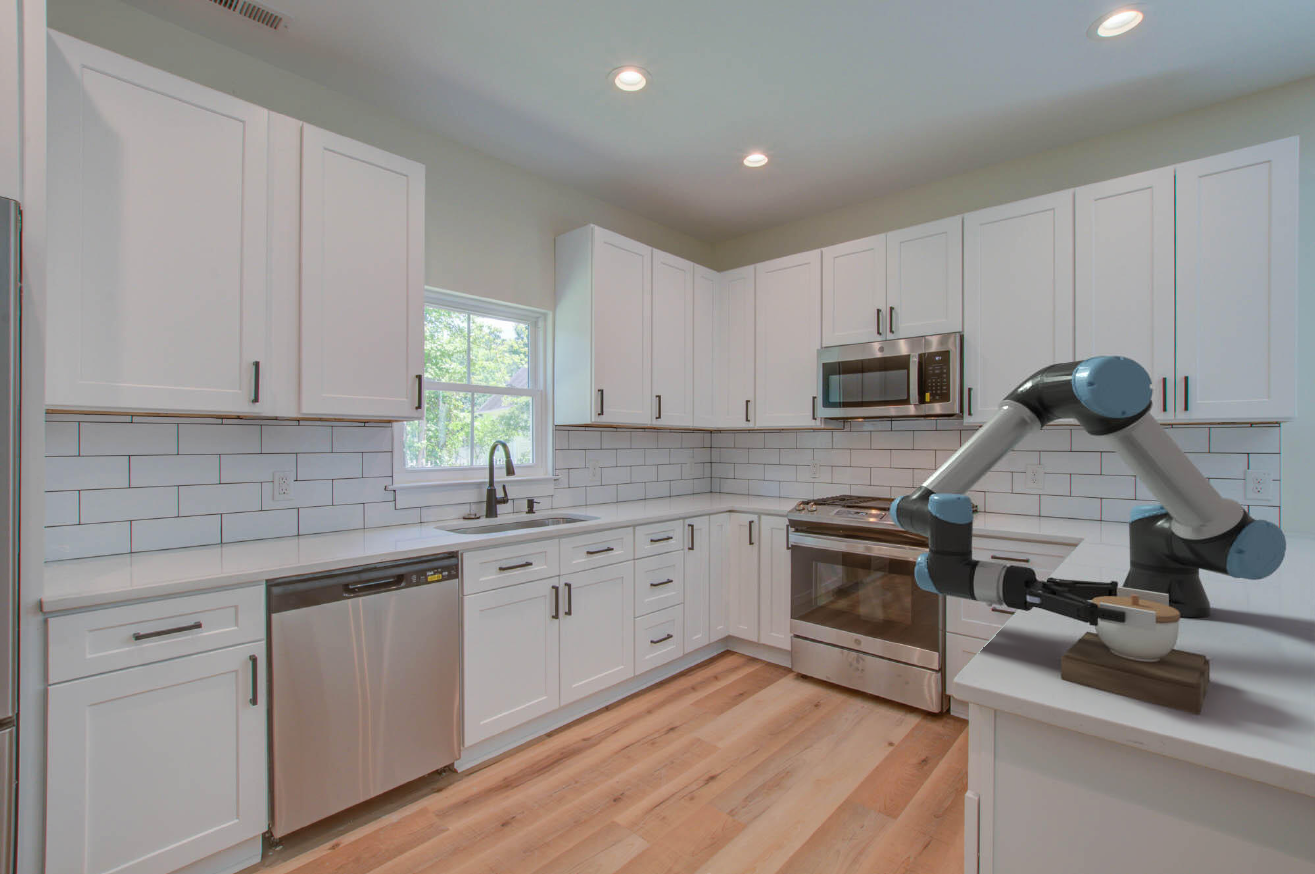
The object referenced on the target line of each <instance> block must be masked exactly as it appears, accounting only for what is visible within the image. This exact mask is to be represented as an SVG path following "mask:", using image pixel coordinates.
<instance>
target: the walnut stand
mask: <svg viewBox="0 0 1315 874" xmlns="http://www.w3.org/2000/svg"><path fill="white" fill-rule="evenodd" d="M1206 657H1207V656H1206V654H1205V655H1204V654H1201V653H1194V652H1191V651H1185V650H1181V649H1175V648H1173V649H1172V650H1171V651H1170V652H1169V653H1168V654H1166V655H1165V656H1163V657H1161V658H1160V660H1159V661H1156V662H1143V661H1136V660H1131V659H1127V658H1123V657H1120V656H1118V655H1115V654H1113V653H1112V652H1111V651H1110V648H1108V647H1107V646H1106V645H1105V644H1104V643H1103V642H1102V640H1101V639H1100V638H1099V636H1098V634H1097V632H1096V633H1095V632H1092V631H1086V632H1085V633H1084V634H1083V635H1082V636H1081V637H1080V638H1079V639H1078V640H1077V641H1076V642H1075V643H1074V644H1073V645H1072V646H1071V647H1070V648H1069V649H1068V650H1067V651H1066V652H1065V653H1064V654H1063V655H1062V656H1060V665H1061V666H1060V679H1061V680H1063V681H1068V682H1071V683H1074V684H1079V685H1083V686H1086V687H1090V688H1094V689H1097V690H1102V691H1106V692H1109V693H1113V694H1118V695H1122V696H1125V697H1129V698H1133V699H1137V700H1141V701H1143V702H1148V703H1152V704H1156V705H1159V706H1164V707H1167V708H1172V709H1175V710H1180V711H1183V712H1186V713H1190V714H1195V715H1200V713H1201V711H1202V707H1203V704H1204V701H1205V699H1206V698H1205V697H1206V695H1207V691H1208V688H1209V685H1210V684H1209V683H1210V680H1211V679H1210V678H1211V676H1210V671H1211V670H1210V669H1211V668H1210V658H1209V659H1208V658H1206ZM1208 684H1209V685H1208Z"/></svg>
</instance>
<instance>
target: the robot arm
mask: <svg viewBox="0 0 1315 874" xmlns="http://www.w3.org/2000/svg"><path fill="white" fill-rule="evenodd" d="M1151 385H1153V381H1152V379H1151V377H1150V374H1149V372H1147V370H1146V369H1145V368H1144V366H1143V365H1141V364H1140V363H1139V362H1137V361H1136V360H1133V359H1131V358H1129V357H1126V356H1121V355H1109V356H1108V355H1100V356H1098V355H1097V356H1094V357H1089V358H1086V359H1080V360H1077V361H1069V362H1061V363H1054V364H1050V365H1048V366H1046V367H1043V368H1041V369H1039V370H1038V371H1036V372H1034V373H1033V374H1031V375H1029V376H1028V377H1027V378H1026V379H1025V380H1023V381H1022V382H1021V383H1019V384H1018V385H1017V386H1016V387H1015V388H1014V389H1013V390H1011V392H1009V393H1008V395H1007V396H1006V397H1004V398H1003V399H1001V401H1000V402H999V403H998V406H997V408H998V411H997V412H995V413H994V414H993V416H991V418H989V420H987V421H986V422H985V423H984V424H983V425H982V426H981V427H980V428H979V429H978V430H977V431H976V432H974V434H973V435H972V436H971V437H970V438H969V439H968V440H966V441H965V442H964V443H963V444H962V445H961V446H960V447H959V448H958V449H956V451H955V452H953V454H951V456H950V457H949V458H947V460H946V461H944V463H942V465H940V466H939V467H938V468H937V469H936V470H935V471H934V472H933V473H932V474H931V475H930V476H929V477H928V478H927V479H926V480H924V481H923V483H921V484H920V485H919V486H918V487H917V489H915V490H914V491H913V492H912V493H911V494H908V495H907V494H906V495H900V496H898V497H896V498H895V499H894V500H893V501H892V503H891V505H890V508H889V517H890V519H891V521H892V522H893V524H894V525H896V526H897V527H899V528H900V529H901V530H904V531H906V532H908V533H913V534H918V535H921V536H923V537H926V538H928V552H922V553H920V554H919V555H918V557H917V558H916V562H915V567H914V578H915V582H916V584H917V585H918V587H919V588H920V589H921V590H924V591H927V592H929V593H935V594H938V595H940V596H949V597H954V598H959V599H964V600H970V601H975V602H981V603H985V604H986V606H987V607H993V605H996V606H1000V607H1001V606H1004V605H1005V606H1006V607H1007V608H1009V609H1016V610H1020V611H1026V612H1028V611H1031V610H1032V609H1033V608H1037V609H1041V610H1044V611H1046V612H1051V613H1054V614H1058V615H1059V616H1060V615H1061V616H1064V617H1066V618H1069V619H1073V620H1077V621H1078V622H1079V621H1080V622H1082V623H1086V624H1089V626H1093V627H1095V626H1098V618H1099V621H1102V622H1108V623H1113V624H1118V625H1123V626H1129V627H1134V628H1139V629H1144V630H1150V631H1156V612H1154V611H1148V610H1142V609H1136V608H1130V607H1125V606H1119V605H1113V604H1107V603H1101V602H1100V603H1099V607H1098V604H1095V603H1093V602H1092V600H1093V599H1094V598H1096V597H1104V596H1116V597H1128V598H1130V594H1134V595H1138V596H1139V599H1142V600H1147V601H1152V602H1157V603H1160V604H1164V605H1167V606H1170V607H1172V608H1174V609H1176V610H1178V611H1179V612H1180V617H1184V618H1202V617H1208V616H1209V615H1211V603H1210V600H1209V598H1208V595H1207V593H1206V590H1205V587H1204V586H1203V583H1202V581H1201V578H1200V570H1204V571H1209V572H1211V573H1215V574H1220V575H1225V576H1228V577H1232V578H1234V579H1240V578H1241V579H1245V580H1251V581H1252V580H1254V581H1255V580H1256V581H1257V580H1262V579H1265V578H1267V577H1270V576H1272V574H1274V573H1275V572H1276V571H1277V570H1278V569H1279V567H1280V566H1281V564H1282V563H1283V561H1284V559H1285V555H1286V550H1287V540H1286V536H1285V534H1284V532H1283V530H1282V529H1281V527H1280V526H1278V525H1277V524H1275V523H1273V522H1271V521H1267V520H1266V519H1255V518H1253V517H1252V516H1251V515H1250V514H1249V513H1248V512H1247V510H1246V509H1245V508H1244V507H1243V506H1242V505H1241V504H1240V502H1238V501H1236V500H1234V499H1232V498H1227V497H1222V496H1221V494H1220V493H1219V492H1218V491H1217V489H1216V488H1214V486H1213V485H1212V484H1211V483H1210V481H1209V480H1208V479H1207V478H1206V476H1205V475H1203V474H1202V472H1201V471H1200V470H1199V469H1198V468H1197V466H1196V465H1195V464H1194V463H1193V462H1192V460H1191V459H1190V458H1189V457H1188V456H1187V455H1186V453H1185V452H1184V451H1183V450H1182V449H1181V448H1180V447H1179V445H1178V444H1177V443H1176V441H1174V440H1173V438H1172V437H1171V435H1169V433H1167V431H1166V430H1165V429H1164V428H1163V427H1162V425H1161V424H1160V423H1159V422H1158V420H1156V418H1155V417H1154V416H1153V415H1152V414H1151V410H1152V408H1153V406H1154V402H1153V400H1152V397H1153V391H1154V389H1153V388H1151ZM1061 419H1062V420H1069V419H1070V420H1071V419H1072V420H1073V419H1074V420H1076V421H1077V422H1078V424H1079V425H1080V426H1081V427H1082V428H1083V429H1084V430H1085V431H1086V432H1087V434H1088V435H1090V436H1091V437H1094V438H1095V437H1096V438H1103V439H1104V440H1105V441H1106V442H1107V444H1108V445H1109V446H1110V448H1112V449H1113V450H1114V452H1115V453H1116V454H1117V456H1118V457H1119V458H1120V459H1121V460H1122V461H1123V462H1124V464H1126V465H1127V467H1128V468H1129V470H1131V472H1133V474H1134V475H1135V476H1136V477H1137V478H1138V480H1139V481H1140V482H1141V483H1142V484H1143V485H1144V486H1145V488H1146V489H1147V490H1148V491H1149V492H1150V494H1151V495H1152V496H1153V497H1154V499H1156V501H1158V503H1159V504H1137V505H1135V506H1133V507H1132V508H1131V510H1130V513H1129V514H1130V515H1129V517H1130V518H1129V521H1128V526H1129V527H1128V529H1129V530H1128V531H1129V533H1128V534H1129V535H1128V537H1129V570H1128V572H1127V575H1126V576H1125V580H1124V582H1123V583H1122V586H1119V582H1118V581H1117V580H1111V582H1110V581H1109V582H1106V581H1105V582H1103V581H1091V580H1090V581H1089V580H1077V579H1074V580H1073V579H1063V578H1055V577H1047V579H1046V581H1045V580H1044V581H1043V580H1038V578H1037V574H1036V572H1035V570H1034V569H1033V568H1031V567H1027V566H1021V565H1013V564H1012V565H1008V564H1006V563H1001V562H995V561H994V562H993V561H988V560H977V559H974V558H973V529H974V528H973V526H974V525H973V524H974V514H973V505H972V499H971V497H969V496H968V495H966V494H967V493H968V492H969V491H970V490H971V489H972V488H974V486H975V485H977V484H978V483H979V482H980V481H981V479H983V477H985V476H986V475H987V474H988V473H989V472H990V471H992V469H993V468H995V467H996V466H997V464H999V463H1000V462H1001V461H1002V460H1003V459H1005V457H1006V456H1007V455H1008V454H1009V453H1011V451H1012V450H1013V449H1014V448H1015V447H1016V446H1017V445H1018V444H1020V443H1021V442H1022V441H1023V440H1024V439H1025V438H1026V437H1027V436H1028V435H1029V434H1037V433H1039V432H1040V431H1041V430H1042V429H1043V428H1044V427H1045V426H1047V425H1048V424H1050V423H1052V422H1054V421H1057V420H1058V421H1059V420H1061Z"/></svg>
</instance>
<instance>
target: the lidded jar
mask: <svg viewBox="0 0 1315 874" xmlns="http://www.w3.org/2000/svg"><path fill="white" fill-rule="evenodd" d="M1091 602H1093V603H1095V604H1098V607H1099V603H1100V602H1101V603H1107V604H1113V605H1119V606H1125V607H1130V608H1136V609H1142V610H1148V611H1154V612H1156V631H1150V630H1144V629H1139V628H1134V627H1129V626H1123V625H1118V624H1113V623H1108V622H1102V621H1099V618H1098V626H1094V629H1095V632H1096V633H1097V634H1098V636H1099V638H1100V639H1101V640H1102V642H1103V643H1104V644H1105V645H1106V646H1107V647H1108V648H1110V651H1111V652H1112V653H1113V654H1115V655H1118V656H1120V657H1123V658H1127V659H1131V660H1136V661H1143V662H1156V661H1159V660H1160V658H1161V657H1163V656H1165V655H1166V654H1168V653H1169V652H1170V651H1171V650H1172V649H1175V646H1176V644H1177V641H1178V638H1179V631H1180V620H1181V616H1180V612H1179V611H1178V610H1176V609H1174V608H1172V607H1170V606H1167V605H1164V604H1160V603H1157V602H1152V601H1147V600H1142V599H1139V596H1138V595H1134V594H1130V598H1128V597H1116V596H1104V597H1096V598H1094V599H1093V600H1091Z"/></svg>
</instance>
